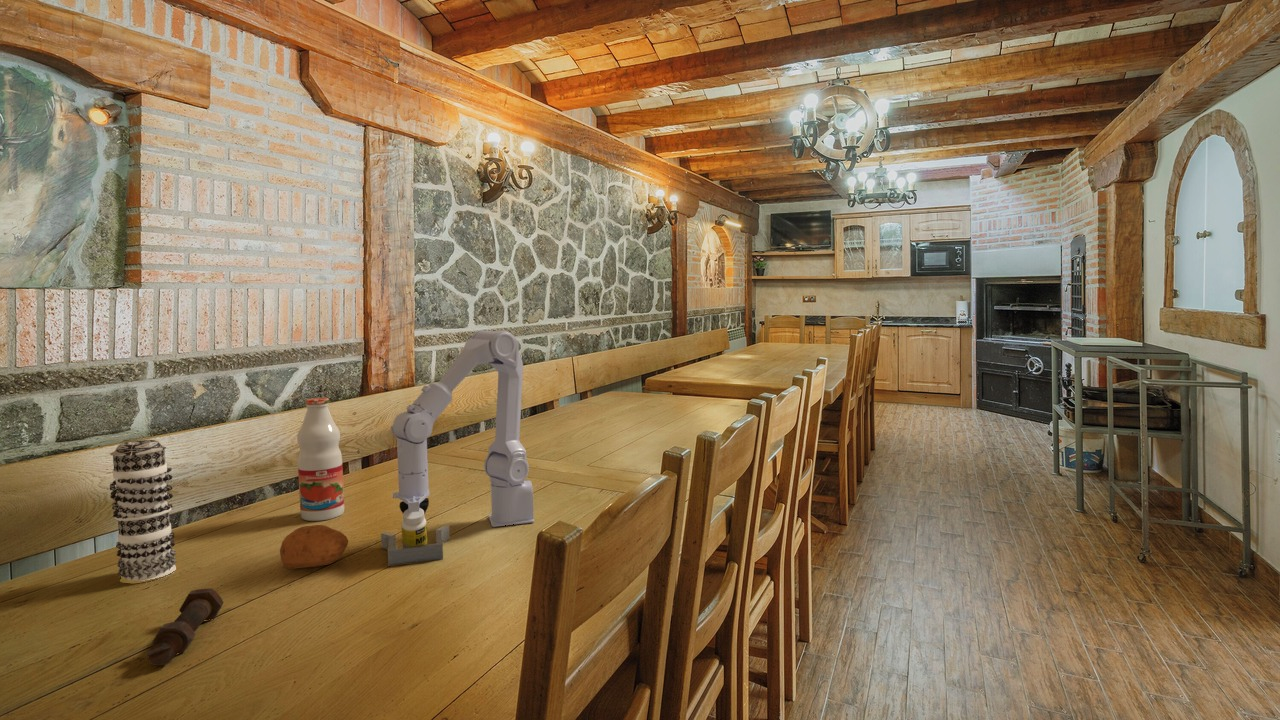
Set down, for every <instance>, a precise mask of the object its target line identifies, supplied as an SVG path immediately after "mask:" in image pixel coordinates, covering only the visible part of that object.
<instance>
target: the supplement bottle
mask: <svg viewBox="0 0 1280 720" xmlns="http://www.w3.org/2000/svg"><path fill="white" fill-rule="evenodd" d="M425 515H426V514H425ZM425 515H424V510H423V509H421V508H419V511H418V512H408V509H407V510H406V511H405V512H404V513H402V522H401V527H400V528H401V542H402V543H401V545H402V546H401V548H402V547H410V546H418V545H426V544H428V529H427V527H428V526H427V519H426V518H425Z"/></svg>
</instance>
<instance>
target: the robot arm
mask: <svg viewBox="0 0 1280 720" xmlns="http://www.w3.org/2000/svg"><path fill="white" fill-rule="evenodd" d="M470 337H471V338H469V339H468V340H466V342H465V344H464V347H463V349H462V350H461V352H460V353H459V355H458V356H457V357H455V360H454V361H453V362H452V364H451V365H450V366H449V368H448V369H447V370H446V372H445V373H444V374H443V375H442V377H441V378H440V379H439V381H438V382H431V383H430V382H429V384H428V385H424V386H423V387H422V388H421V393H420V395H418V397H417V398H416V399H415V400H414V401H413V402H412V404H408V405H407V407H406V411H403V412H400V413H399V414H398V415H396V417H395V418H394V420H393V423H392V425H391V426H390V431H391V433H392V435H393V437H395V439H396V443H397V444H396V446H397V447H396V448H397V451H396V452H397V477H398V491H396V492H393V493H392V498H393V499H399V500H401V501H400V502H399V506H398V507H399V509H400V511H401V513H402V514H403V513H404V512H405V511H406V510H407V509H408V512H418V511H419V508H421V509H423V510H424V515H426V512H427V510H428V508H429V506H430V501H429V500H430V499H429V498H428V497H429V496H430V491H431V490H430V489H429V466H428V461H429V460H428V438H429V437H431V435H432V432H433V426H434V424H435V421H436V420H437V419H438V418H439V417H440V416H441V414H442V413H443V412H444V411H445V410H446V408H447V407H448V406H449V405H450V403H452V401H453V391H454V390H455V389H456V388H458V386H459V384H460V383H461V382H463V380H464V379H466V378H467V376H468V375H469V374H470V373H471V372H472V371H473V370H474V369H475V368H476V366H480V365H484V364H489V365H490V366H492V367H493V369H495V371H496V372H497V373H498V374H497V375H498V377H497V393H496V397H497V398H496V415H495V418H496V419H495V435H494V441H492V443H491V444H490V445H489V446H488V452H487V456H486V458H485V460H484V465H483V466H484V467H483V469H484V472H485V474H486V475H487V476H488V477H489V482H490V497H491V498H490V501H491V502H490V503H491V513H490V514H489V513H488V515H487V516H488V519H489V523H490V525H491V527H492V528H495V527H496V528H497V527H503V526H504V527H505V525H506V526H512V525H513V524H514V525H522V524H529V523H535V519H534V514H535V513H534V511H535V510H534V489H533V484H532V481H531V480H526V479H527V477H528V475H529V470H530V464H529V462H528V458H527V450H526V448H525V447H524V445H522V443H521V441H520V437H521V436H520V434H521V432H520V431H521V419H522V417H521V415H522V395H523V379H524V378H523V375H524V363H523V361H522V360H523V359H522V358H521V354H520V352H519V351H520V350H519V348H520V347H519V345H520V344H519V343H520V342H519V340H518V339H517V338H516V337H515V336H514V335H513V334H512V333H511V332H510V331H506V330H500V331H498V330H496V331H495V330H485V329H479V330H477V331H475V332H474V333H473V334H472V336H470Z"/></svg>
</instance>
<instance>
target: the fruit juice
mask: <svg viewBox="0 0 1280 720" xmlns="http://www.w3.org/2000/svg"><path fill="white" fill-rule="evenodd" d="M329 406H330V398H328V397H313V398H312V397H311V398H307V399H305V407H306V413H305V416H304V419H303V422H302V424H301V427H300V429H299V430H298V432H297V437H296V440H297V444H298V447H299V453H298V455H297V456H298V457H297V472H298V487H299V488H298V489H299V490H298V491H299V493H298V494H299V508H300V509H299V510H300V516H301V519H302V520H305V521H307V522H320V521H326V520H327V521H328V520H331V519H335V518H337V517H340V516H341V515H343V514H344V511H345V493H344V489H345V487H344V472H343V469H344V468H343V455H342V450H341V449H340V447H339V445H340V442H341V441H340V440H341V431H340V428H339V426H337V424H336V423H335V421H334V418H333V416H332V414H331V412H330V409H329Z"/></svg>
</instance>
